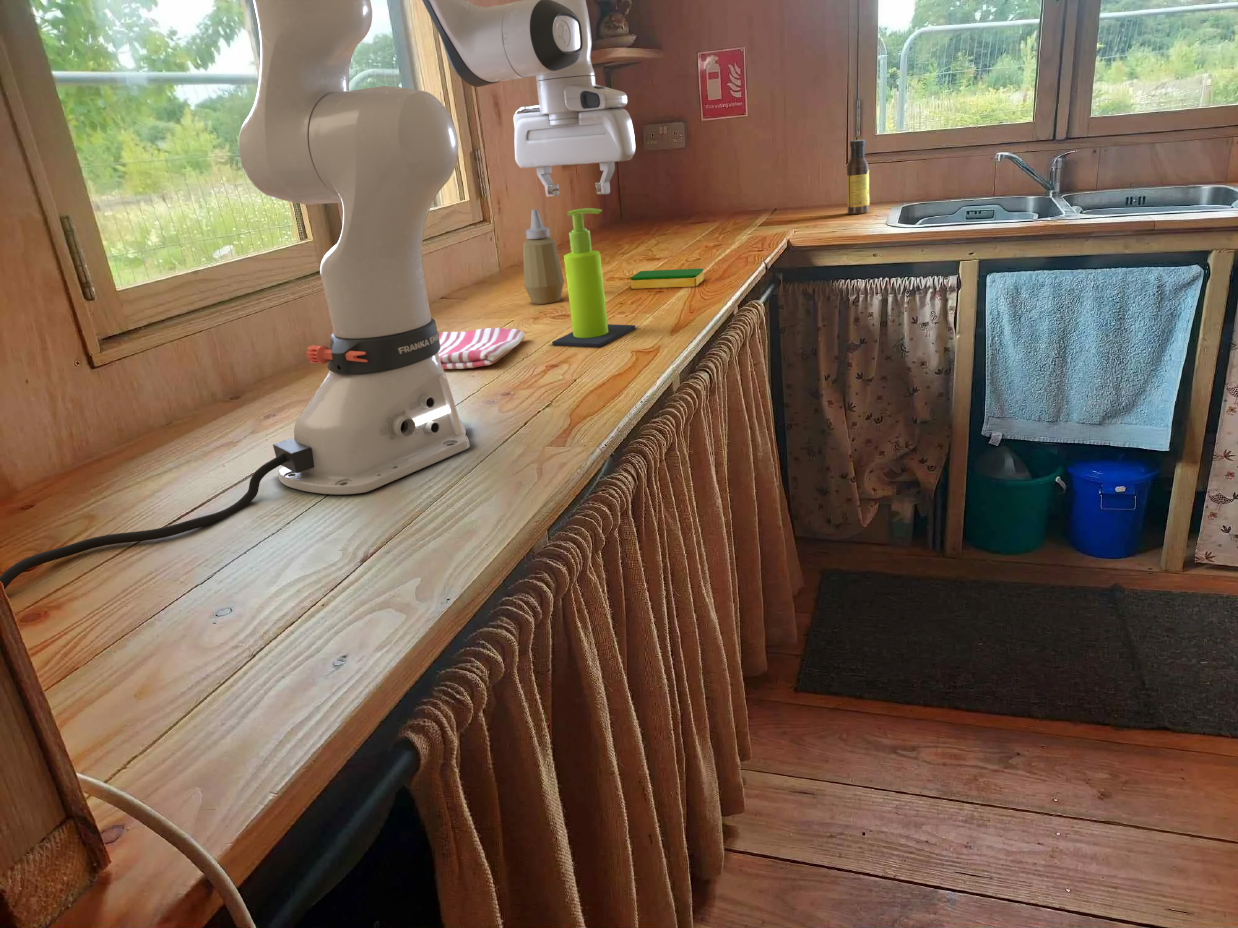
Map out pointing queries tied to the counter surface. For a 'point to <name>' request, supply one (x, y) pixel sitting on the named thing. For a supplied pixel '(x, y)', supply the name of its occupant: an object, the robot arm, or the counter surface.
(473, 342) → the dish towel
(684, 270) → the dish sponge
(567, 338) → the mat
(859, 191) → the sauce bottle
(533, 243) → the squeeze bottle
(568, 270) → the soap dispenser
